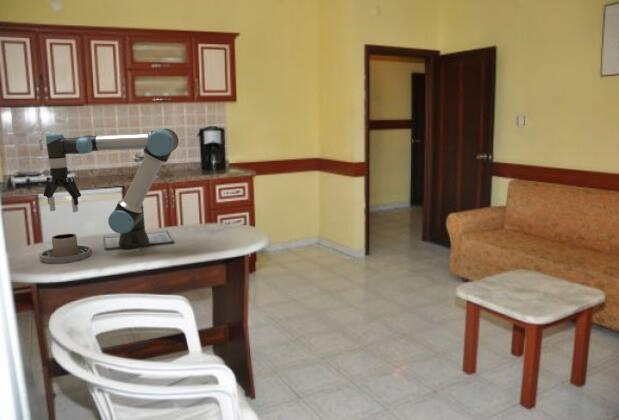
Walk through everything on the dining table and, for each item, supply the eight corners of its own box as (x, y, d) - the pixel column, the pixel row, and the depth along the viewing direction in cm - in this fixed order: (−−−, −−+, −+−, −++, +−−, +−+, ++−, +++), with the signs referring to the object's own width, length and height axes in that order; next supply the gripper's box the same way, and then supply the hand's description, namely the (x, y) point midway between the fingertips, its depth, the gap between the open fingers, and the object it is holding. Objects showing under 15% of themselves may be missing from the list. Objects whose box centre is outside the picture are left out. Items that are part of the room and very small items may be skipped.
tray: (101, 252, 255) (100, 247, 254) (65, 265, 235) (65, 260, 234) (66, 248, 263) (66, 243, 262) (29, 261, 243) (29, 255, 242)
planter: (69, 259, 242) (66, 239, 240) (48, 258, 245) (46, 238, 243) (83, 252, 253) (81, 233, 251) (63, 251, 255) (61, 233, 253)
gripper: (85, 166, 243) (91, 210, 248) (44, 165, 251) (49, 208, 256) (73, 168, 237) (79, 213, 241) (31, 167, 244) (37, 211, 249)
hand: (64, 211), depth 248 cm, fingers open, 13 cm apart
